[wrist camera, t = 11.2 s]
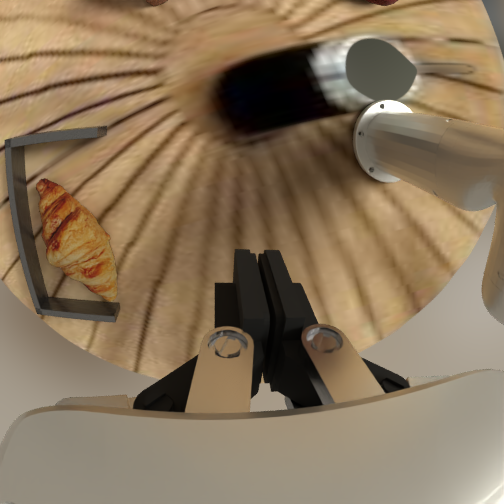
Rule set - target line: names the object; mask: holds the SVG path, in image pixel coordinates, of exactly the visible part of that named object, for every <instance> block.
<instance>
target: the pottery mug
mask: <svg viewBox="0 0 504 504" xmlns="http://www.w3.org/2000/svg"><path fill="white" fill-rule="evenodd" d="M166 1H168V0H146V2H148V3H150V4H151V5H153V6H157V5H160V4H162V3H164V2H166Z"/></svg>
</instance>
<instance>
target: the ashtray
mask: <svg viewBox="0 0 504 504" xmlns="http://www.w3.org/2000/svg"><path fill="white" fill-rule="evenodd" d="M366 1H368V2H371V3H374V4H377V5H382V6H388V5H391V4H394V3H395V2H396V1H398V0H366Z"/></svg>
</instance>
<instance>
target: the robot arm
mask: <svg viewBox="0 0 504 504" xmlns="http://www.w3.org/2000/svg"><path fill="white" fill-rule="evenodd" d="M359 132H360V134H359ZM353 147H354V152H355V156H356V159H357V161H358V163H359V165H360V166H361V167H362V169H363V170H364V171H365V172H366V173H367V174H368V175H369V176H371V177H373V178H374V179H376V180H379V181H381V182H386V183H392V182H397V181H400V180H403V181H406V182H408V183H410V184H412V185H414V186H416V187H418V188H420V189H422V190H424V191H426V192H428V193H430V194H432V195H434V196H436V197H438V198H440V199H442V200H444V201H446V202H448V203H450V204H452V205H453V206H455V207H457V208H459V209H462V210H466V211H479V210H483V209H486V208H488V207H490V206H492V205H494V204H496V206H497V211H496V219H495V228H494V233H493V238H492V242H491V247H490V251H489V256H488V259H487V264H486V268H485V271H484V276H483V281H482V298H483V302H484V305H485V307H486V309H487V310H488V312H489V313H490V314H491V315H492V316H493V317H494V318H495V319H496V320H497V321H499V322H500V323H501V324H503V325H504V128H498V127H493V126H488V125H482V124H477V123H473V122H468V121H463V120H458V119H452V118H447V117H441V116H434V115H427V114H420V113H413V112H412V111H411V110H410V109H409V108H408V107H406V106H405V105H404V104H402V103H400V102H397V101H393V100H380V101H376V102H374V103H372V104H370V105H369V106H367V107H366V108H365V109H364V110H363V111H362V112H361V114H360V116H359V117H358V119H357V122H356V124H355V127H354V132H353ZM369 168H370V169H369ZM262 372H263V378H264V382H265V383H270V388H271V391H272V392H274V391H278V392H280V393H281V394H283V395H284V396H285V403H286V406H287V409H288V410H277V411H263V412H250V400H251V398H252V397H253V396H255V395H256V394H257V393H258V390H259V384H260V383H261V378H262ZM0 504H504V371H501V370H493V369H492V370H491V369H483V370H474V371H469V372H464V373H461V374H457V375H453V376H432V377H408V378H407V379H406V380H405V379H404V378H403V377H401V376H399V375H398V374H395V373H393V372H391V371H389V370H387V369H385V368H383V367H380V366H378V365H376V364H374V363H372V362H370V361H368V360H366V359H364V358H361V357H360V356H359V354H358V353H357V351H356V350H355V348H354V347H353V346H352V344H351V343H350V341H349V340H348V339H347V337H346V336H345V335H344V333H343V332H342V331H340V330H339V329H337V328H336V327H333V326H330V325H326V324H318V322H317V319H316V317H315V315H314V312H313V310H312V308H311V305H310V303H309V301H308V298H307V296H306V294H305V291H304V289H303V287H302V285H301V283H292V281H291V278H290V276H289V273H288V271H287V268H286V266H285V263H284V260H283V258H282V255H281V253H280V251H279V250H264V254H259V256H258V263H257V259H256V255H255V253H250V250H244V249H235V254H234V273H233V283H215V329H213V330H211V331H209V332H208V333H207V334H206V335H205V336H204V338H203V340H202V343H201V347H200V351H199V354H198V355H197V356H195V357H194V358H192V359H191V360H189V361H188V362H186V363H185V364H183V365H182V366H180V367H179V368H177V369H176V370H174V371H173V372H171V373H170V374H168V375H167V376H165V377H164V378H162V379H161V380H159V381H158V382H156V383H155V384H153V385H151V386H150V387H148V388H147V389H145V390H143V391H142V392H141V393H140V394H139V395H138V396H137V397H132V398H128V397H127V395H115V396H98V397H70V398H65V399H62V400H61V401H59V402H57V403H56V405H55V406H48V407H41V408H37V409H34V410H31V411H28V412H25V413H24V414H22V415H20V416H19V417H18V418H17V419H16V420H15V421H14V422H13V423H12V425H11V426H10V427H9V429H8V431H7V432H6V434H5V437H4V439H3V441H2V443H1V445H0Z"/></svg>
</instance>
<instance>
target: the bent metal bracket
mask: <svg viewBox="0 0 504 504" xmlns="http://www.w3.org/2000/svg"><path fill="white" fill-rule="evenodd" d="M104 135H107V126H98V127H85V128H74V129H65V130H57V131H49V132H42V133H35V134H29V135H23V136H18V137H14V138H10V139H6V140H5V158H6V173H7V184H8V193H9V201H10V208H11V214H12V220H13V226H14V231H15V236H16V241H17V246H18V250H19V254H20V259H21V263H22V266H23V270H24V274H25V277H26V281H27V284H28V288H29V291H30V294H31V297H32V300H33V303H34V306H35V309H36V312H37V314H41V315H48V316H56V317H65V318H74V319H83V320H93V321H104V322H116V320H117V317H118V314H119V311H120V305H119V303H113V302H99V301H86V300H74V299H64V298H53V297H48V294H47V291H46V287H45V284H44V280H43V276H42V272H41V268H40V264H39V260H38V256H37V251H36V246H35V241H34V236H33V231H32V225H31V219H30V212H29V205H28V196H27V187H26V176H25V160H24V145H29V144H36V143H43V142H52V141H60V140H70V139H82V138H96V137H100V136H104Z"/></svg>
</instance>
